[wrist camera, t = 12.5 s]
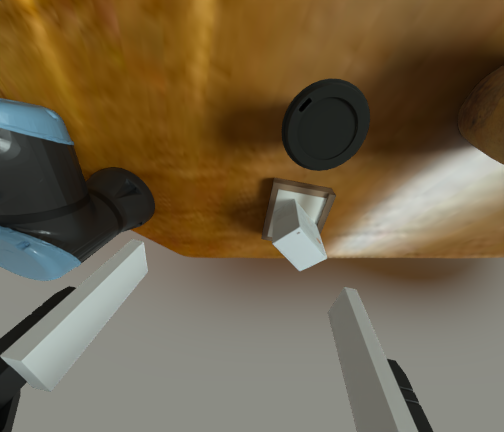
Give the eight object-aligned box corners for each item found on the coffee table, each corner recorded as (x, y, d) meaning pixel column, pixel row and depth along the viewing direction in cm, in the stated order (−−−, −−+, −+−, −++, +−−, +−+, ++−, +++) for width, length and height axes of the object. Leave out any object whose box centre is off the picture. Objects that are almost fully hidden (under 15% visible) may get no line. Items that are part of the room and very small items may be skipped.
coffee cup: (305, 162, 37) (318, 190, 24) (270, 124, 35) (263, 132, 22) (350, 121, 33) (395, 128, 20) (313, 75, 30) (338, 48, 17)
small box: (272, 212, 40) (270, 243, 31) (295, 197, 38) (299, 225, 28) (295, 237, 42) (299, 273, 33) (317, 225, 40) (328, 259, 31)
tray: (262, 231, 46) (261, 240, 43) (274, 177, 39) (273, 183, 36) (310, 241, 46) (313, 251, 43) (331, 188, 39) (336, 195, 36)
